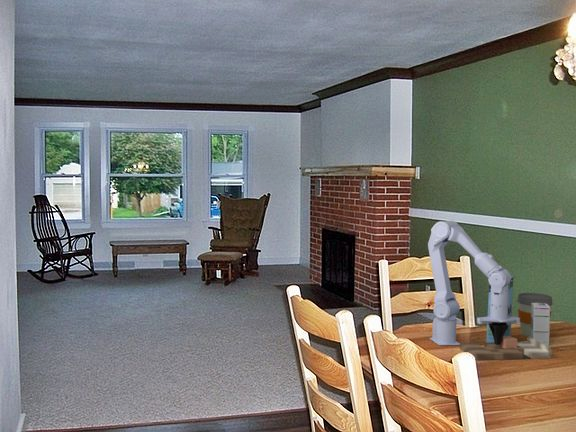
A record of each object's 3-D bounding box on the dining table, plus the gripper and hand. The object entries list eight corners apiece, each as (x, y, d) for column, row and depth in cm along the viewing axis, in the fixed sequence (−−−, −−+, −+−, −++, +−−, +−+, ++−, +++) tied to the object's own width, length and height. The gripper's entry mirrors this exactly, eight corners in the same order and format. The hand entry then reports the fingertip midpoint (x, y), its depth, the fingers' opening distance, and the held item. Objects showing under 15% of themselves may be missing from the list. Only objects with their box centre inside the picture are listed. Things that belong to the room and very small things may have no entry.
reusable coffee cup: (550, 332, 248) (551, 294, 247) (552, 340, 236) (553, 300, 235) (515, 329, 252) (517, 291, 251) (516, 336, 240) (517, 297, 239)
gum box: (498, 334, 243) (500, 275, 241) (511, 336, 240) (514, 276, 239) (485, 345, 226) (487, 282, 225) (500, 348, 224) (502, 283, 222)
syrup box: (549, 346, 227) (551, 306, 226) (532, 345, 228) (533, 305, 227) (546, 342, 232) (547, 303, 231) (529, 341, 233) (530, 302, 233)
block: (497, 345, 220) (498, 336, 220) (509, 344, 221) (509, 335, 221) (505, 348, 215) (505, 339, 215) (517, 347, 216) (517, 339, 216)
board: (459, 348, 222) (460, 338, 221) (529, 347, 225) (529, 337, 225) (477, 360, 208) (477, 349, 208) (551, 358, 211) (551, 348, 211)
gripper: (484, 307, 212) (482, 347, 213) (524, 307, 214) (523, 346, 215) (474, 303, 219) (473, 342, 220) (514, 302, 221) (513, 341, 222)
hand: (497, 344), depth 218 cm, fingers closed
